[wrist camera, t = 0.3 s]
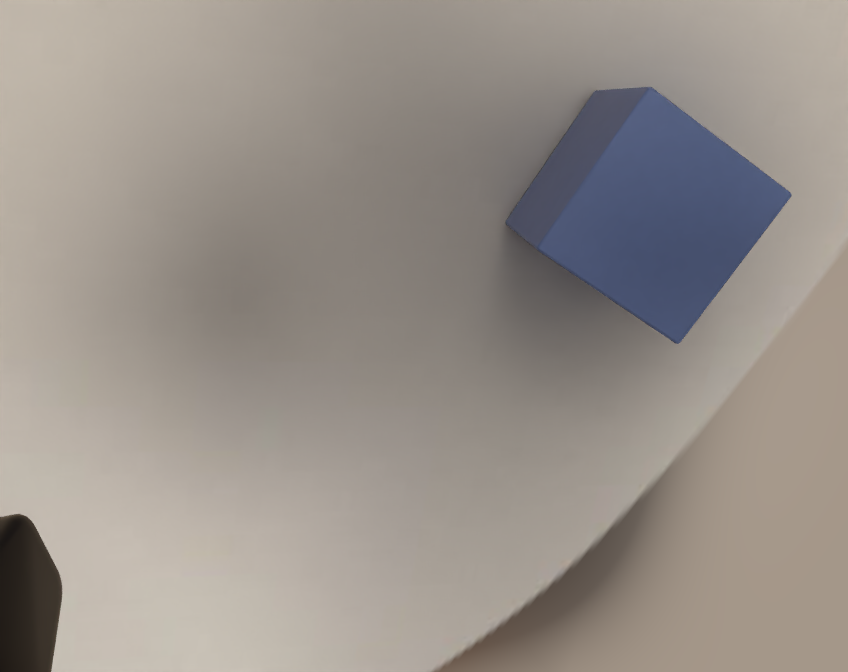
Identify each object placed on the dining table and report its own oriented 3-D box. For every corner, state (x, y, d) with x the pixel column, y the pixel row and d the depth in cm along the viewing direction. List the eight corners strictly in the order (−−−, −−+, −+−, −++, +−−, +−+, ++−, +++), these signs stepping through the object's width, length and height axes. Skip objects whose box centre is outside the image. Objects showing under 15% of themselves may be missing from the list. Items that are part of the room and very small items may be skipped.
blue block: (622, 303, 24) (679, 345, 20) (503, 222, 23) (535, 248, 19) (715, 178, 23) (793, 194, 19) (595, 89, 23) (650, 85, 18)
